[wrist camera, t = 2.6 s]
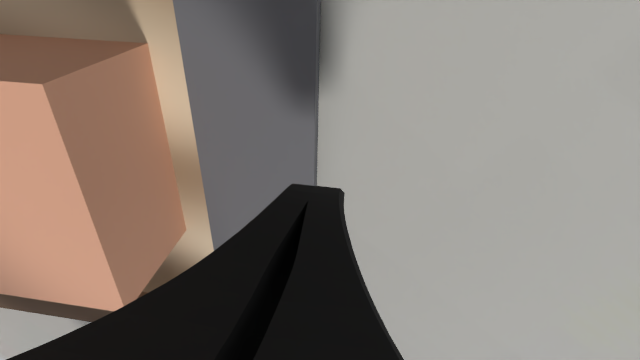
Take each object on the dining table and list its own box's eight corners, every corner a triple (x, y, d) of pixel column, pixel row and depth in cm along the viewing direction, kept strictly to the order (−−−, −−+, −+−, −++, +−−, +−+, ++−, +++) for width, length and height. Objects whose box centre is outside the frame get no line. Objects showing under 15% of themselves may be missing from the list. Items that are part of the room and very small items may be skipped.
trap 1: (314, 305, 17) (311, 316, 16) (227, 293, 17) (222, 303, 17) (322, -128, 9) (319, -132, 8) (163, -128, 9) (150, -132, 9)
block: (186, 230, 15) (126, 313, 11) (25, 210, 16) (-75, 282, 12) (147, 43, 11) (42, 84, 8) (-60, 30, 12) (-236, 62, 9)
